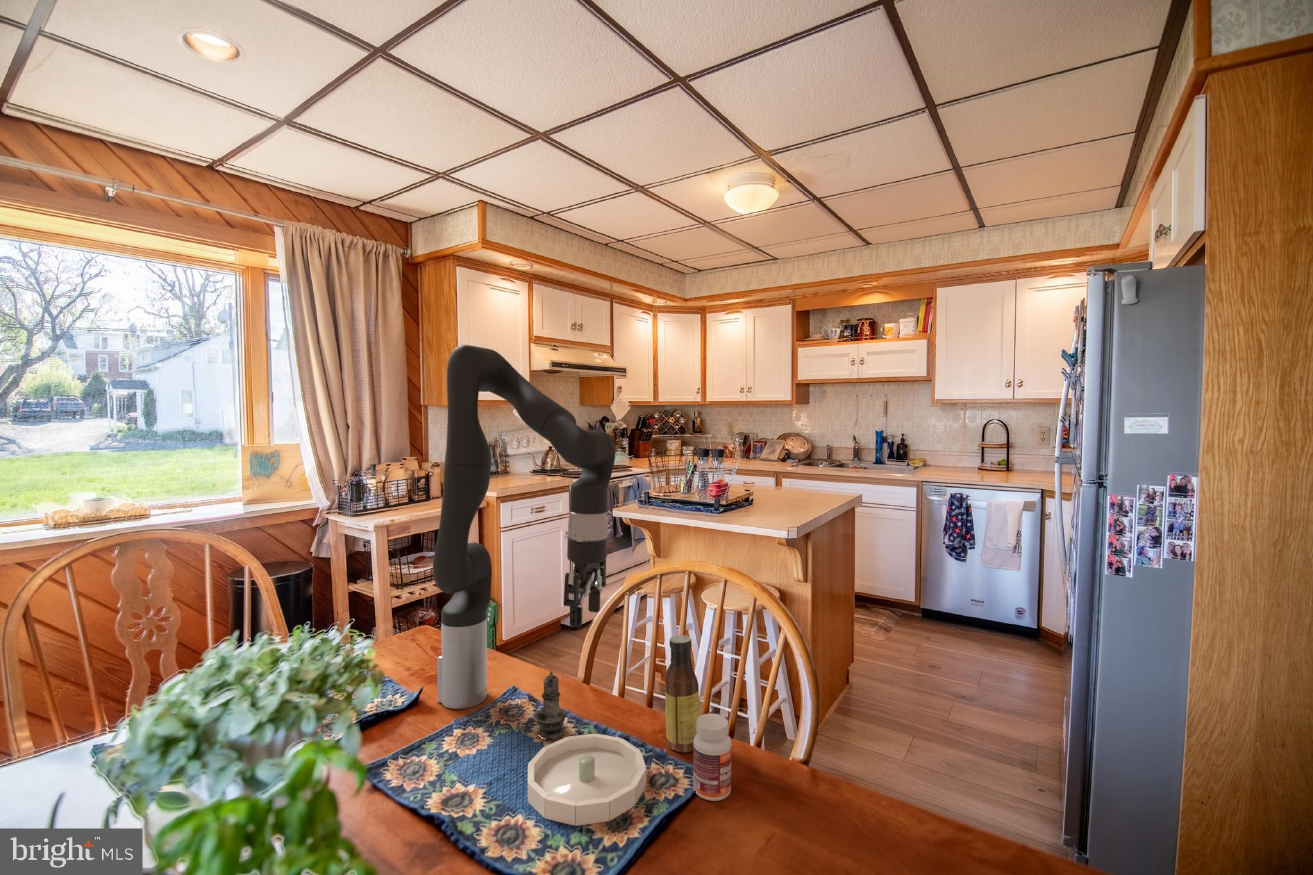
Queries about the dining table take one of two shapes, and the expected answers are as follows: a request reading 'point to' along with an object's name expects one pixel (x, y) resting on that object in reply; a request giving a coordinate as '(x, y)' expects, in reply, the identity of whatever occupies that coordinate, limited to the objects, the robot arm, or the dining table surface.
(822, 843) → the dining table surface
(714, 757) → the pill bottle
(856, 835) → the dining table surface
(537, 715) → the dark stone tower
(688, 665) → the sauce bottle
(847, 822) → the dining table surface
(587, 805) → the tray
